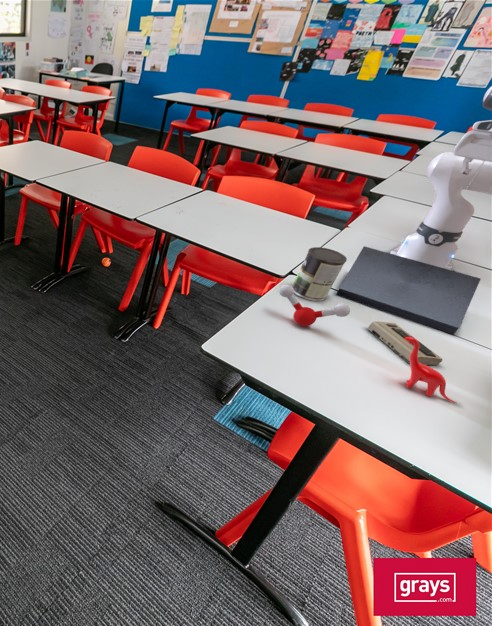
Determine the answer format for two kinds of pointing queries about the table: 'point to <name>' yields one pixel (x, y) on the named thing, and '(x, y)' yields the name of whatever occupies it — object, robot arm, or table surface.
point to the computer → (402, 342)
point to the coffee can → (318, 273)
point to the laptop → (397, 312)
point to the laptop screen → (411, 286)
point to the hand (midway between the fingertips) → (483, 178)
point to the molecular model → (306, 314)
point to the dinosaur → (424, 373)
